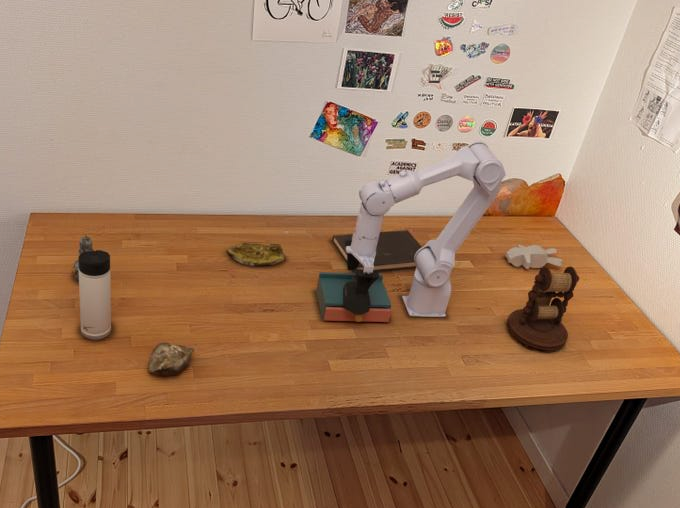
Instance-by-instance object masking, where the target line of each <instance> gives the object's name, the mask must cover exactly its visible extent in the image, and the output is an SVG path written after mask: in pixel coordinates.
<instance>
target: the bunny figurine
mask: <svg viewBox="0 0 680 508" xmlns="http://www.w3.org/2000/svg"><path fill="white" fill-rule="evenodd" d="M557 252H558V250H557V249H556V248H554V247H551V248H547V249H544V248H543V247H542V246H541V245H538V244H531V245H528V246H524V245H523V244H518V245H517V246H513V247H511V248H510V249H508V250H505V258H506V259H507V262H508V264H512V266H513V267H517V268H519V267H521V266H522V267H524V269H526V270H529V269H530V268H532V269H539V268H540V269H541V268H542V267H544V266H546V264H547V263H548V264H551V265H554V266H557V267H562V266H563V265H564V264H563V263H564V260H563V259H562V258H559V257H553V256H552V255H556V254H557ZM551 256H552V257H551Z"/></svg>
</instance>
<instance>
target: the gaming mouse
mask: <svg viewBox="0 0 680 508" xmlns="http://www.w3.org/2000/svg"><path fill="white" fill-rule="evenodd" d="M352 277H353V281H350V282H346V284H345V285H344V287H343V305H344V307H345V309H346V310H348V311H350V312H351V313H353V314H359V315H362V314H365V313H367V312H369V309H370V306H371V302H370V296H369V292H367V293H366V295H364V294H356V280H354V276H352Z"/></svg>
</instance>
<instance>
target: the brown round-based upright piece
mask: <svg viewBox="0 0 680 508" xmlns="http://www.w3.org/2000/svg"><path fill="white" fill-rule="evenodd" d="M579 281H580V276H579V275H578V273H577V270H576V269H575V268H574V267H573V266H567V267H565V269H564V271H563V272H552V271H551V269H550V268H549V267H548V266H546V265H544V266H543V267H541V268H540V269H539V271H538V274H536V275H535V276H534V281H533V286H532V287H531V290H529V291H528V293H527V297H528V298H527V299H528V300H527V301H526V303H525V306H524V307H523V308H519V309H516V310H513V311H512V312H511V313H510V314H509V315H508V317H507V320H506V327H507V329H508V331H509V332H510V334H511V335H512V336H513V337H514V338H515V339H517V340H518V341H519V342H521V343H522V344H524V349H528V348H529V347H531V348H534V349H536V350H537V349H538V350H542V351H555V350H559V349H561V348H563V347H565V345H566V344H567V341H568V338H569V332H568V330H567V328H566V327H565V325H564V324H563V323H562V321H563V317H564V315H565V313H566V312H567V307H568V305H569V301H570V300H572V299H573V298H574V292H573V291H575V288H576V287H577V284H578V282H579ZM561 298H563V300H561Z"/></svg>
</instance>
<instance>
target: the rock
mask: <svg viewBox="0 0 680 508" xmlns="http://www.w3.org/2000/svg"><path fill="white" fill-rule="evenodd" d="M194 351H195V348H194V347H190V346H187V345H181V344H171V343H170V342H159V343H158V344H156V345H155V347H154V348H153V349H152V351H151V354H150V359H149V362H148V366H147V369H148V371H149V373H152V374H156V375H159V376H172V375H175V374H178V373H180V372H181V371H182V370H184V369H186V368H187V367H188V366H189V364H190V361H191V357H192V354H193V352H194Z"/></svg>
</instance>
